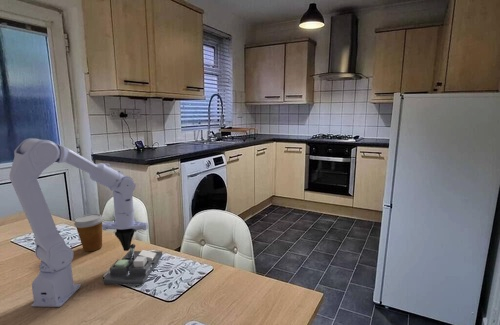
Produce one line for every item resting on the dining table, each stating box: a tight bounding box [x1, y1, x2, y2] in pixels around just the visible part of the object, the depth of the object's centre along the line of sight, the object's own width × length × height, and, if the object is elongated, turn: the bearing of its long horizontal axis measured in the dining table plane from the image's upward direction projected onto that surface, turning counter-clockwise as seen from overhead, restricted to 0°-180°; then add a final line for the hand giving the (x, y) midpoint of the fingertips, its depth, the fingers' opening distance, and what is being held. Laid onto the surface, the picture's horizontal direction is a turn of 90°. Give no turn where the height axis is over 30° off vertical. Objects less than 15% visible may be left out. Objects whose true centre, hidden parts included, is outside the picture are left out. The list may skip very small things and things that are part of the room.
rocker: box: [138, 249, 156, 260], centre depth 98 cm, size 4×5×1 cm
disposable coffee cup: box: [73, 213, 104, 252], centre depth 108 cm, size 10×10×12 cm
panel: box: [103, 250, 163, 286], centre depth 95 cm, size 18×12×3 cm
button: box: [115, 259, 129, 267], centre depth 92 cm, size 3×3×2 cm
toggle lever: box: [128, 243, 136, 258], centre depth 97 cm, size 2×2×5 cm
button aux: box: [133, 256, 147, 267], centre depth 91 cm, size 3×3×2 cm
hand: (127, 249), depth 97 cm, fingers closed
